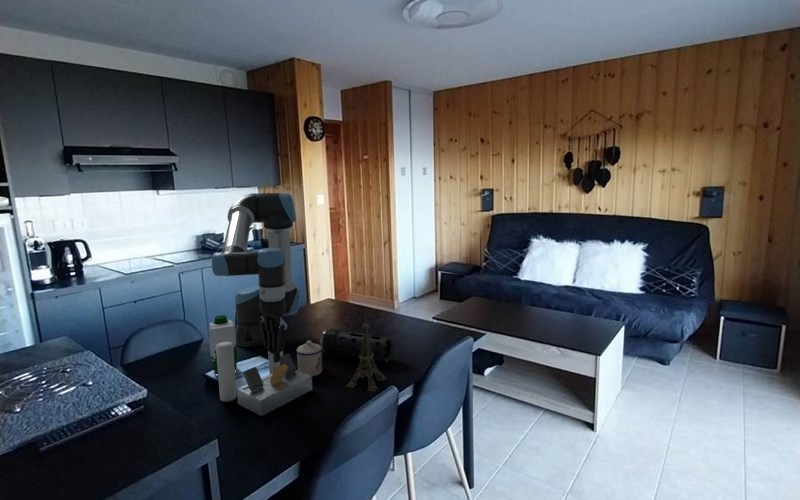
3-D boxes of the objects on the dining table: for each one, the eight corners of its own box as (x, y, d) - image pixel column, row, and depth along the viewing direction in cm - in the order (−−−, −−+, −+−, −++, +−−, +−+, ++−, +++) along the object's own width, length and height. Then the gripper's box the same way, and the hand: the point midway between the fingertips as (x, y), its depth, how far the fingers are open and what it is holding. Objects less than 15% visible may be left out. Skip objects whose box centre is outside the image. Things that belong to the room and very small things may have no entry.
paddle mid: (269, 382, 138) (274, 368, 135) (279, 377, 141) (285, 363, 138) (271, 385, 137) (277, 371, 135) (282, 381, 141) (288, 367, 138)
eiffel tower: (346, 386, 147) (344, 315, 143) (359, 373, 157) (358, 306, 153) (374, 391, 143) (373, 319, 139) (386, 378, 153) (386, 309, 149)
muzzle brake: (383, 368, 161) (383, 342, 159) (318, 357, 171) (317, 332, 169) (393, 358, 170) (393, 333, 168) (331, 348, 180) (330, 324, 178)
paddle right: (285, 377, 144) (277, 358, 145) (294, 372, 147) (286, 354, 148) (287, 375, 143) (279, 357, 144) (297, 371, 146) (289, 353, 147)
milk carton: (236, 363, 165) (232, 313, 162) (239, 373, 158) (235, 320, 154) (211, 368, 161) (207, 317, 158) (213, 378, 154) (208, 324, 150)
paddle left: (251, 392, 133) (242, 372, 135) (262, 387, 137) (253, 368, 138) (253, 390, 132) (244, 371, 134) (264, 385, 136) (256, 366, 137)
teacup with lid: (321, 376, 154) (320, 345, 152) (295, 378, 153) (294, 346, 152) (324, 362, 166) (323, 333, 164) (300, 363, 165) (299, 334, 163)
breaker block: (237, 403, 136) (236, 388, 135) (289, 380, 152) (288, 365, 151) (261, 416, 129) (260, 399, 128) (312, 389, 145) (311, 374, 144)
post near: (217, 398, 139) (212, 345, 136) (231, 392, 143) (227, 340, 140) (225, 403, 137) (221, 348, 134) (239, 396, 140) (236, 343, 138)
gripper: (249, 297, 135) (252, 369, 138) (275, 304, 127) (278, 380, 131) (269, 293, 141) (272, 362, 144) (295, 299, 133) (297, 372, 137)
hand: (275, 370), depth 138 cm, fingers closed
